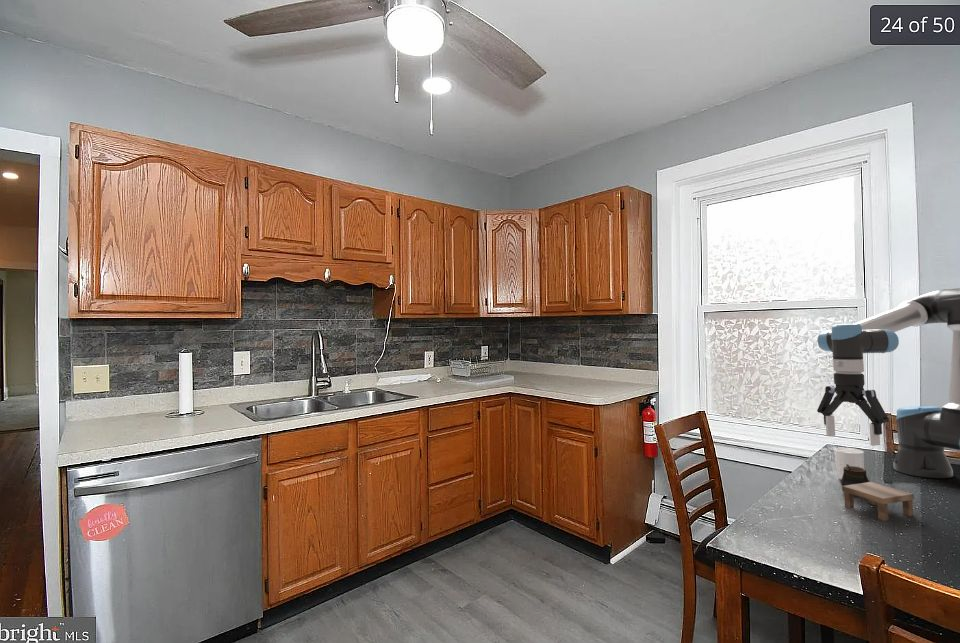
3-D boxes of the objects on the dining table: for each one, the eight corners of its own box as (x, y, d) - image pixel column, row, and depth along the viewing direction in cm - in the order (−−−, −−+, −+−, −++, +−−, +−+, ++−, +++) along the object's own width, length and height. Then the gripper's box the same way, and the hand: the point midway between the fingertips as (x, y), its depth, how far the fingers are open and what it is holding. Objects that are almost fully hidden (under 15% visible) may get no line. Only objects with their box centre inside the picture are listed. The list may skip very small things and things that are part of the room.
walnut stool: (872, 502, 135) (871, 481, 136) (915, 516, 125) (913, 493, 125) (843, 506, 133) (842, 485, 133) (884, 521, 122) (883, 498, 122)
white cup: (871, 483, 151) (869, 453, 151) (844, 482, 153) (842, 453, 153) (856, 476, 159) (854, 447, 159) (831, 475, 160) (829, 447, 161)
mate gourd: (875, 494, 141) (873, 462, 142) (866, 500, 137) (864, 467, 137) (846, 488, 147) (844, 457, 148) (837, 494, 143) (835, 462, 143)
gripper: (802, 370, 155) (805, 433, 154) (882, 376, 131) (886, 450, 130) (820, 369, 157) (823, 431, 156) (902, 375, 132) (906, 448, 132)
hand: (852, 440), depth 143 cm, fingers open, 13 cm apart
